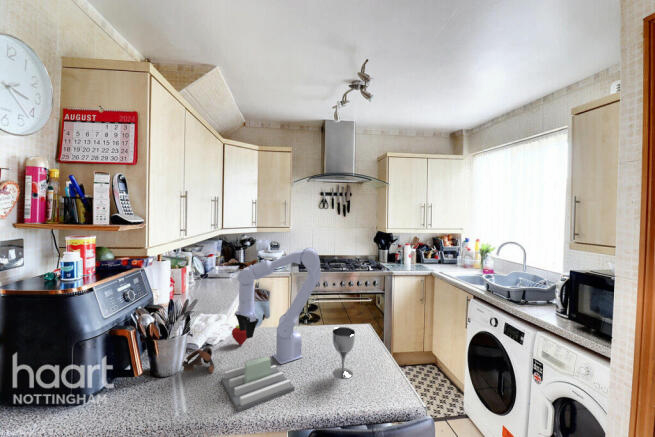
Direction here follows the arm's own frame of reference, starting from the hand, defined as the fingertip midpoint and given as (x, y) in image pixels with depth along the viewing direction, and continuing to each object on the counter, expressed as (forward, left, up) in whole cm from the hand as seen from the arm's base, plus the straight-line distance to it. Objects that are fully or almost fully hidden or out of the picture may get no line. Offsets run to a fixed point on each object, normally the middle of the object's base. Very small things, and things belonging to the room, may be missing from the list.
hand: (246, 334), depth 110 cm
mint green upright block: (+3, +19, -8) cm, 21 cm away
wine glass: (-25, +29, -10) cm, 39 cm away
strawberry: (-2, -12, -10) cm, 15 cm away
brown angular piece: (+16, -1, -10) cm, 19 cm away
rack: (+3, +19, -9) cm, 21 cm away
